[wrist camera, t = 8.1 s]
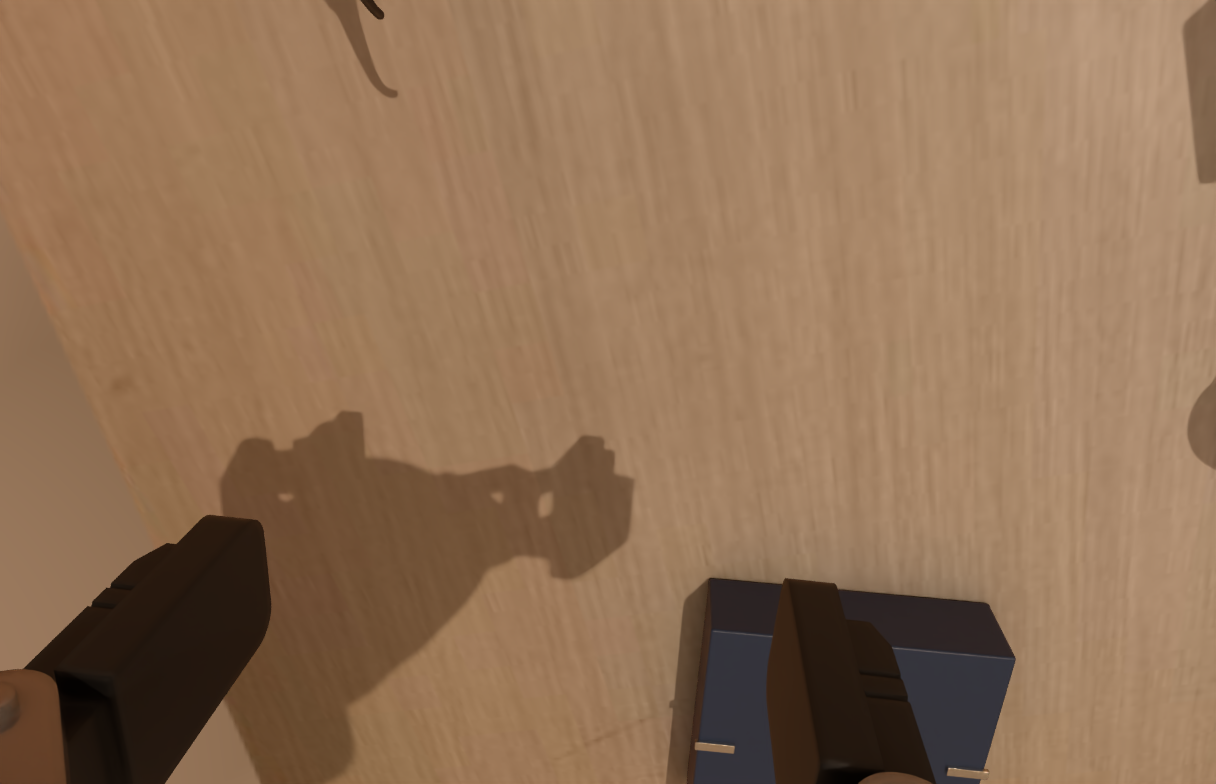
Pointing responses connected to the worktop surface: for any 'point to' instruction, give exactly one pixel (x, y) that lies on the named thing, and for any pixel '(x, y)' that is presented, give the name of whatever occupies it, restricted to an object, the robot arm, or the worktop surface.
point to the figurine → (373, 8)
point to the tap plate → (925, 653)
